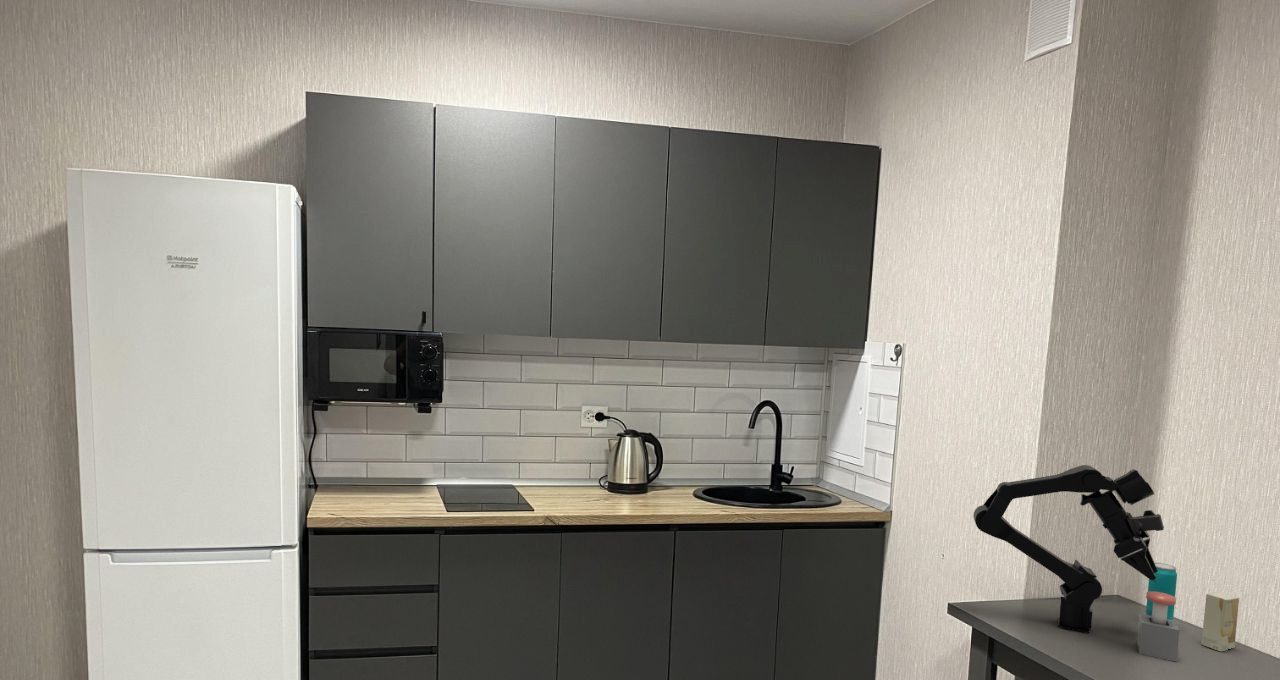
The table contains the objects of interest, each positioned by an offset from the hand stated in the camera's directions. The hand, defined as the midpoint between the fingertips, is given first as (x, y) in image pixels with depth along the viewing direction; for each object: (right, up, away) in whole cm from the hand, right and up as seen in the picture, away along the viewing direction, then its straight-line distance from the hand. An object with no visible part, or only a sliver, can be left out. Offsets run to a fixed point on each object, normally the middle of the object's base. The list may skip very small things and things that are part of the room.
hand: (1154, 575), depth 185 cm
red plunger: (-2, -11, -4) cm, 12 cm away
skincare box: (+16, -17, +2) cm, 24 cm away
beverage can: (+10, -17, +14) cm, 24 cm away
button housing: (-2, -16, -4) cm, 17 cm away
